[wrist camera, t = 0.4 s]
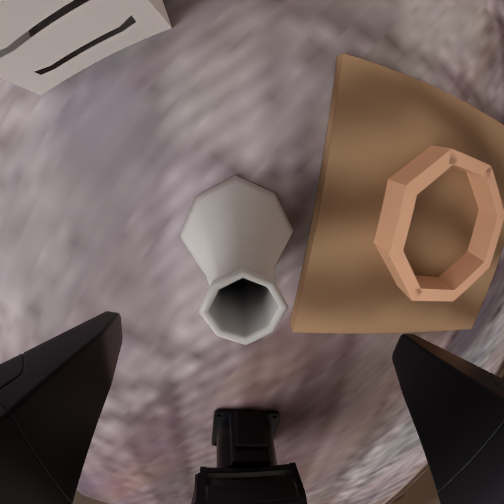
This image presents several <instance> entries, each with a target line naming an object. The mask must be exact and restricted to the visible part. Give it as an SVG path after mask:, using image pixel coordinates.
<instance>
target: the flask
mask: <svg viewBox="0 0 504 504" xmlns="http://www.w3.org/2000/svg"><path fill="white" fill-rule="evenodd" d="M292 233H293V228H292V226H291V224H290V222H289V220H288V218H287V216H286V214H285V212H284V210H283V208H282V206H281V204H280V202H279V200H278V198H277V197H276V195H275V193H273V192H271V191H269V190H267V189H264V188H262V187H260V186H258V185H256V184H253V183H251V182H249V181H247V180H245V179H242V178H240V177H238V176H236V175H234V176H232V177H230V178H228V179H227V180H225V181H223V182H221V183H219V184H217V185H216V186H214V187H212V188H210V189H208V190H207V191H205V192H203V193H201V194H200V195H198V196H196V197H195V200H194V202H193V204H192V207H191V209H190V211H189V214H188V216H187V219H186V221H185V224H184V226H183V228H182V231H181V233H180V237H181V238H182V240H183V241H184V243H185V245H186V246H187V248H188V249H189V251H190V252H191V254H192V255H193V257H194V259H195V260H196V262H197V263H198V265H199V266H200V268H201V269H202V271H203V272H204V273H205V274H206V277H207V280H208V284H209V287H210V288H209V290H208V292H207V294H206V296H205V299H204V301H203V303H202V305H201V307H200V314H201V315H202V317H203V318H204V319H205V321H206V322H207V323H208V325H209V326H210V327H211V329H212V330H213V331H214V333H215V334H216V335H217V336H219V337H222V338H225V339H228V340H231V341H234V342H237V343H240V344H243V345H247V344H249V343H252V342H254V341H256V340H258V339H260V338H263V337H265V336H267V335H269V334H271V333H273V332H274V331H275V329H276V327H277V326H278V324H279V322H280V321H281V319H282V317H283V316H284V314H285V312H286V311H287V309H288V304H287V302H286V301H285V299H284V297H283V295H282V294H281V292H280V290H279V288H278V286H277V285H276V283H275V281H274V276H275V267H276V264H277V262H278V260H279V258H280V256H281V254H282V252H283V250H284V248H285V246H286V244H287V242H288V240H289V239H290V237H291V235H292Z"/></svg>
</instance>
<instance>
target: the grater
mask: <svg viewBox="0 0 504 504" xmlns="http://www.w3.org/2000/svg"><path fill="white" fill-rule="evenodd" d="M72 1H74V0H0V79H3V80H5V81H8V82H10V83H12V84H15V85H17V86H20V87H22V88H24V89H27V90H29V91H32V92H34V93H36V94H39V95H41V96H42V95H43V94H45V93H46V92H48V91H49V90H51V89H52V88H54V87H55V86H57V85H58V84H60V83H61V82H63V81H65V80H66V79H68V78H70V77H71V76H73V75H75V74H76V73H78V72H80V71H81V70H83V69H85V68H87V67H89V66H90V65H92V64H94V63H96V62H98V61H100V60H102V59H103V58H105V57H107V56H109V55H111V54H113V53H115V52H117V51H119V50H122V49H124V48H126V47H128V46H130V45H132V44H135V43H137V42H139V41H141V40H144V39H146V38H148V37H151V36H153V35H156V34H158V33H161V32H163V31H166V30H169V29H171V28H172V27H171V24H170V21H169V18H168V15H167V12H166V9H165V6H164V3H163V0H90V1H88V2H86V3H84V4H82V5H81V6H79V7H77V8H75V9H74V10H72V11H70V12H69V13H67V14H65V15H64V16H62V17H61V18H59V19H57V20H56V21H54V22H53V23H51V24H50V25H48V26H47V27H45V28H44V29H42V30H41V31H39V32H38V33H37V34H35V35H34V36H32V37H31V38H30V35H29V30H30V29H31V28H32V27H34V26H35V25H37V24H38V23H39V22H41V21H42V20H44V19H45V18H47V17H48V16H50V15H51V14H53V13H54V12H56V11H57V10H59V9H61V8H62V7H64V6H65V5H67V4H69V3H70V2H72ZM131 15H132V17H133V18H134V19H135V21H136V22H135V23H134V24H133V25H131V26H130V27H128V28H127V29H126V30H124V31H122V32H120V33H118V34H116V35H114V36H112V37H110V38H108V39H106V40H104V41H102V42H100V43H98V44H96V45H95V46H93V47H91V48H89V49H87V50H85V51H84V52H82V53H80V54H78V55H77V56H75V57H73V58H72V59H70V60H68V61H67V62H65V63H64V64H62V65H60V66H59V67H57V68H56V69H53V70H51V71H49V72H47V73H44V74H42V75H40V74H37V73H36V71H37V70H40V69H43V68H46V67H49V66H51V65H53V64H54V63H56V62H57V61H59V60H60V59H62V58H63V57H65V56H67V55H68V54H70V53H72V52H73V51H75V50H77V49H78V48H80V47H82V46H84V45H85V44H87V43H89V42H91V41H93V40H94V39H96V38H98V37H100V36H102V35H104V34H106V33H108V32H110V31H112V30H114V29H116V28H118V27H120V26H121V25H122V24H123V23H124V22H125V21H126V20H127V19H128V18H129V17H130V16H131Z"/></svg>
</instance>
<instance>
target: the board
mask: <svg viewBox="0 0 504 504" xmlns="http://www.w3.org/2000/svg"><path fill="white" fill-rule="evenodd" d="M431 145H432V146H439V147H446V148H452V149H454V150H456V151H459V152H461V153H463V154H466V155H468V156H470V157H473V158H475V159H477V160H479V161H481V162H484V163H486V164H488V165H490V166H491V167H492V170H493V173H494V176H495V180H496V183H497V186H498V190H499V194H500V197H501V201H502V205H503V209H504V125H503V124H501V123H500V122H498V121H497V120H495V119H493V118H492V117H490V116H488V115H487V114H485V113H483V112H482V111H480V110H478V109H476V108H475V107H473V106H471V105H469V104H467V103H465V102H464V101H462V100H460V99H458V98H456V97H454V96H452V95H450V94H448V93H446V92H444V91H442V90H440V89H438V88H435V87H433V86H431V85H429V84H427V83H424V82H422V81H420V80H417V79H415V78H413V77H410V76H408V75H405V74H403V73H400V72H398V71H395V70H392V69H390V68H387V67H384V66H381V65H379V64H376V63H373V62H370V61H367V60H364V59H361V58H357V57H354V56H351V55H347V54H344V53H343V54H341V55H340V56H338V57H337V61H336V69H335V78H334V86H333V93H332V101H331V108H330V115H329V122H328V129H327V135H326V142H325V148H324V154H323V161H322V167H321V173H320V178H319V184H318V190H317V195H316V201H315V206H314V212H313V217H312V222H311V228H310V233H309V238H308V243H307V248H306V253H305V257H304V262H303V267H302V272H301V276H300V281H299V286H298V290H297V295H296V299H295V303H294V308H293V312H292V316H291V321H290V325H291V328H292V331H293V332H304V333H407V332H430V331H447V330H462V329H471V328H472V326H473V324H474V322H475V320H476V318H477V315H478V313H479V311H480V308H481V306H482V304H483V301H484V299H485V296H486V294H487V291H488V289H489V286H490V284H491V281H492V278H493V276H494V273H495V270H496V267H497V264H498V261H499V258H500V255H501V252H502V249H503V245H504V220H503V224H502V228H501V231H500V235H499V238H498V242H497V245H496V248H495V252H494V255H493V258H492V261H491V264H490V267H489V268H488V269H487V270H486V271H485V272H484V273H483V274H482V275H481V276H480V277H479V278H478V279H477V280H476V281H475V282H474V283H473V284H472V285H471V286H470V287H469V288H468V289H466V290H465V291H464V292H463V293H462V294H461V295H460V296H459V297H458V298H457V299H455V300H454V301H412V300H411V299H410V298H409V297H408V296H407V295H406V294H405V293H404V292H403V291H402V290H401V289H400V288H399V287H398V286H397V285H396V283H395V281H394V279H393V277H392V275H391V273H390V271H389V269H388V267H387V266H386V264H385V262H384V260H383V258H382V256H381V255H380V253H379V251H378V249H377V247H376V246H375V244H374V239H375V235H376V231H377V227H378V223H379V219H380V214H381V210H382V205H383V201H384V196H385V191H386V186H387V181H388V179H389V178H390V177H391V176H393V175H394V174H395V173H396V172H398V171H399V170H400V169H402V168H403V167H404V166H406V165H407V164H408V163H409V162H411V161H412V160H413V159H415V158H416V157H417V156H418V155H420V154H421V153H422V152H424V151H425V150H426V149H427V148H429V147H430V146H431ZM478 211H479V209H478V206H477V202H476V199H475V196H474V193H473V190H472V187H471V184H470V181H469V179H468V176H467V173H466V172H465V171H462V170H459V169H457V168H454V167H450V168H449V169H447V170H446V171H445V172H444V173H443V174H441V175H440V176H439V177H438V178H437V179H436V180H434V181H433V182H432V183H431V184H430V185H428V186H427V187H426V188H425V189H423V190H422V191H421V192H420V193H419V194H417V197H416V202H415V206H414V210H413V214H412V219H411V223H410V227H409V230H408V234H407V238H406V242H405V245H404V249H403V252H404V254H405V256H406V258H407V260H408V262H409V264H410V266H411V269H412V271H413V273H414V275H418V276H430V277H439V276H440V275H441V274H443V273H444V272H445V271H446V270H447V269H448V268H449V267H451V266H452V265H453V264H454V263H455V262H456V261H457V260H458V259H459V258H460V257H462V256H463V255H464V254H465V253H466V252H467V251H468V247H469V244H470V241H471V237H472V234H473V230H474V226H475V222H476V219H477V215H478Z"/></svg>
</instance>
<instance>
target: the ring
mask: <svg viewBox="0 0 504 504" xmlns="http://www.w3.org/2000/svg"><path fill="white" fill-rule="evenodd" d="M450 167H454V168H457V169H459V170H462V171H465V172H466V173H467V176H468V179H469V181H470V184H471V187H472V190H473V193H474V196H475V199H476V202H477V206H478V209H479V211H478V215H477V219H476V222H475V226H474V230H473V234H472V237H471V241H470V244H469V247H468V251H467V252H466V253H465V254H464V255H463V256H462V257H460V258H459V259H458V260H457V261H456V262H455V263H454V264H453V265H452V266H451V267H449V268H448V269H447V270H446V271H445V272H444V273H443V274H441V275H440V276H439V277H430V276H418V275H414V273H413V271H412V269H411V266H410V264H409V262H408V260H407V258H406V256H405V254H404V252H403V249H404V245H405V242H406V238H407V234H408V230H409V227H410V223H411V219H412V214H413V210H414V206H415V202H416V197H417V194H419V193H420V192H421V191H422V190H423V189H425V188H426V187H427V186H428V185H430V184H431V183H432V182H433V181H434V180H436V179H437V178H438V177H439V176H440V175H441V174H443V173H444V172H445V171H446V170H447V169H449V168H450ZM503 220H504V209H503V205H502V201H501V197H500V194H499V190H498V186H497V183H496V180H495V176H494V173H493V170H492V167H491V166H490V165H488V164H486V163H484V162H481V161H479V160H477V159H475V158H473V157H470V156H468V155H466V154H463V153H461V152H459V151H456V150H454V149H452V148H446V147H439V146H432V145H431V146H430V147H429V148H427V149H426V150H425V151H424V152H422V153H421V154H420V155H418V156H417V157H416V158H415V159H413V160H412V161H411V162H409V163H408V164H407V165H406V166H404V167H403V168H402V169H400V170H399V171H398V172H396V173H395V174H394V175H393V176H391V177H390V178H389V179H388V181H387V186H386V191H385V196H384V201H383V205H382V210H381V214H380V219H379V223H378V227H377V231H376V235H375V239H374V244H375V246H376V247H377V249H378V251H379V253H380V255H381V256H382V258H383V260H384V262H385V264H386V266H387V267H388V269H389V271H390V273H391V275H392V277H393V279H394V281H395V283H396V285H397V286H398V287H399V288H400V289H401V290H402V291H403V292H404V293H405V294H406V295H407V296H408V297H409V298H410V299H411V300H412V301H454V300H455V299H457V298H458V297H459V296H460V295H461V294H462V293H463V292H464V291H465V290H466V289H468V288H469V287H470V286H471V285H472V284H473V283H474V282H475V281H476V280H477V279H478V278H479V277H480V276H481V275H482V274H483V273H484V272H485V271H486V270H487V269H488V268H489V267H490V264H491V261H492V258H493V255H494V252H495V248H496V245H497V242H498V238H499V235H500V231H501V228H502V224H503Z"/></svg>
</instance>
